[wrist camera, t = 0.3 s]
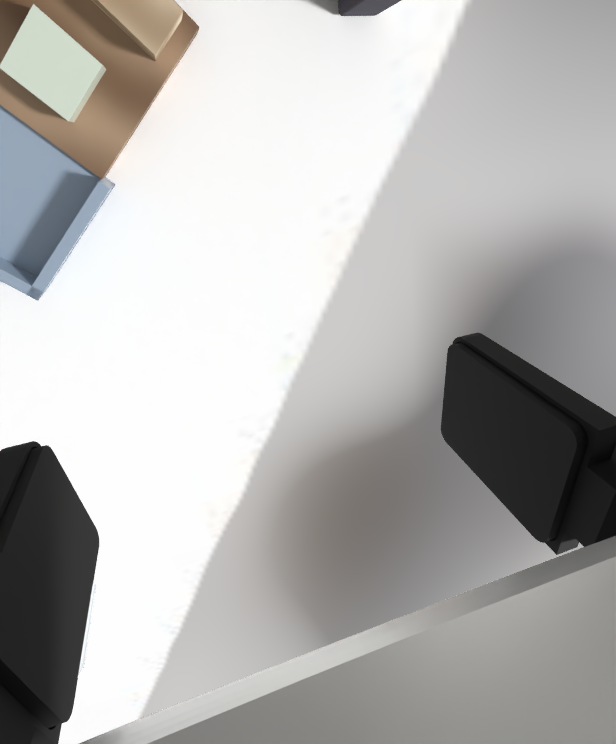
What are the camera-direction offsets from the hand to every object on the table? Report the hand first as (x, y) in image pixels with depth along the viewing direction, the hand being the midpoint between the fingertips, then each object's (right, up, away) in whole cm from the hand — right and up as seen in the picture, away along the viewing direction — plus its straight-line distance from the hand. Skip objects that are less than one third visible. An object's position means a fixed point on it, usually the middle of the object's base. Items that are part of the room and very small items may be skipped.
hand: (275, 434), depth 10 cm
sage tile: (-15, +21, +16) cm, 30 cm away
